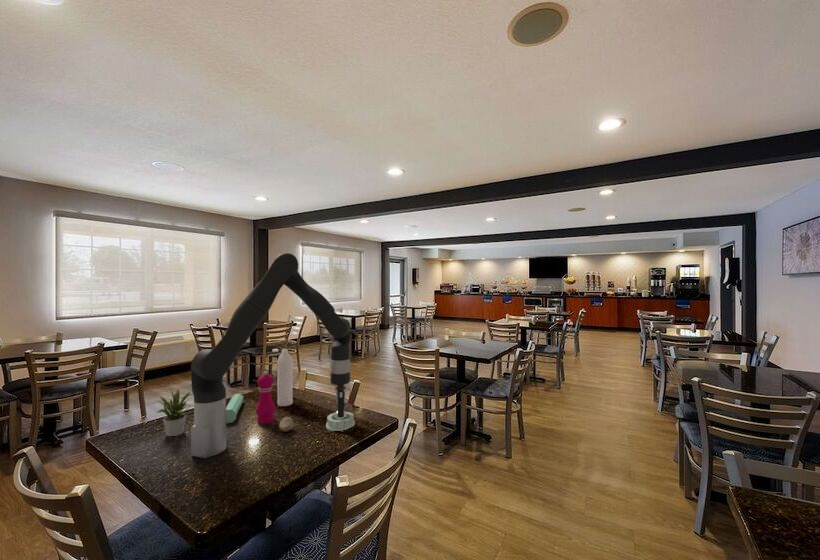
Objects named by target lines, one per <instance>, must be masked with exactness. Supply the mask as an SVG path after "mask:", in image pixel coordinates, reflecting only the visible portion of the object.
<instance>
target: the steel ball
mask: <svg viewBox="0 0 820 560" xmlns="http://www.w3.org/2000/svg"><path fill="white" fill-rule="evenodd" d="M346 412H347V411H346V410H344V417H341V418H339V417H338V410H337V411H335V412H334V413H335V414H334V420H344V419H347V413H346Z"/></svg>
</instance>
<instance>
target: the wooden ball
mask: <svg viewBox="0 0 820 560" xmlns="http://www.w3.org/2000/svg"><path fill="white" fill-rule="evenodd" d="M278 427H279V429H280V430H281V431H282V432H289V431H291V430H292V428H293V427H294V420H293V419H292V418H291V417H288V416H285V417H283V418H281V420H280V421H279V425H278Z"/></svg>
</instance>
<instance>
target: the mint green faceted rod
mask: <svg viewBox="0 0 820 560" xmlns="http://www.w3.org/2000/svg"><path fill="white" fill-rule="evenodd" d="M243 402H244V395H243V394H241V393H235V394H233V396H232V397H231V398H230V400H229V402H228V404H226V424H230V423H231V424H232V423H234V422H235V420H236V419H237V415H238V412H239V411H240V408H241V407H242V404H243Z"/></svg>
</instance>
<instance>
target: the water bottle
mask: <svg viewBox="0 0 820 560" xmlns="http://www.w3.org/2000/svg"><path fill="white" fill-rule="evenodd" d="M288 351H289V349H288V348H283V349H282V350H281V353H280V355H279V356H278V358H277V363H276V364H277V369H276V370H277V372H276V373H277V380H276V381H277V382H276V383H277V387H276V389H277V406H278V407H279V406H280V407H288V406H291V405H292V404H294V403H293V402H294V400H293V399H294V398H293V388H294V387H293V383H294V382H293V358H292V356H291V354H289V352H288ZM272 352H273V353H276V352H277V353H278V352H279V349H278V348H273V349H272Z"/></svg>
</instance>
